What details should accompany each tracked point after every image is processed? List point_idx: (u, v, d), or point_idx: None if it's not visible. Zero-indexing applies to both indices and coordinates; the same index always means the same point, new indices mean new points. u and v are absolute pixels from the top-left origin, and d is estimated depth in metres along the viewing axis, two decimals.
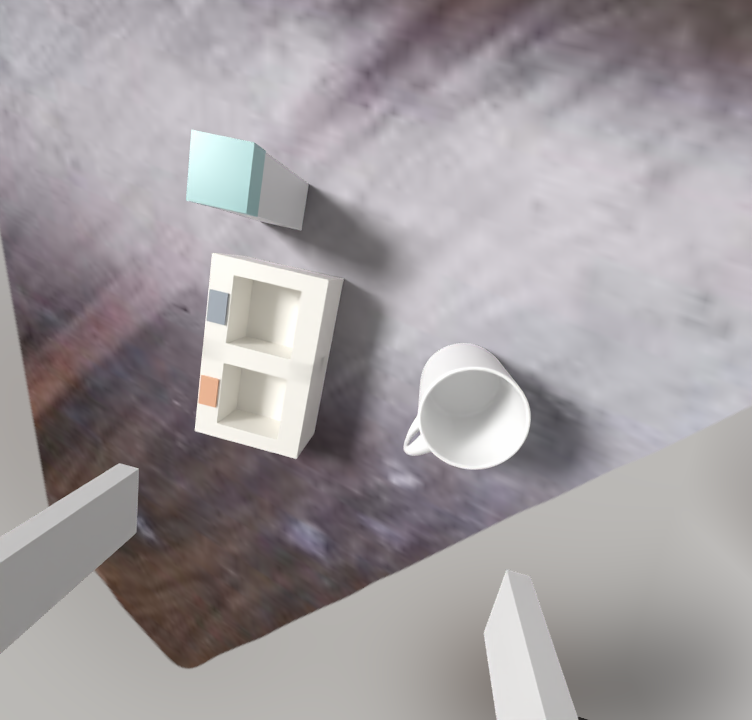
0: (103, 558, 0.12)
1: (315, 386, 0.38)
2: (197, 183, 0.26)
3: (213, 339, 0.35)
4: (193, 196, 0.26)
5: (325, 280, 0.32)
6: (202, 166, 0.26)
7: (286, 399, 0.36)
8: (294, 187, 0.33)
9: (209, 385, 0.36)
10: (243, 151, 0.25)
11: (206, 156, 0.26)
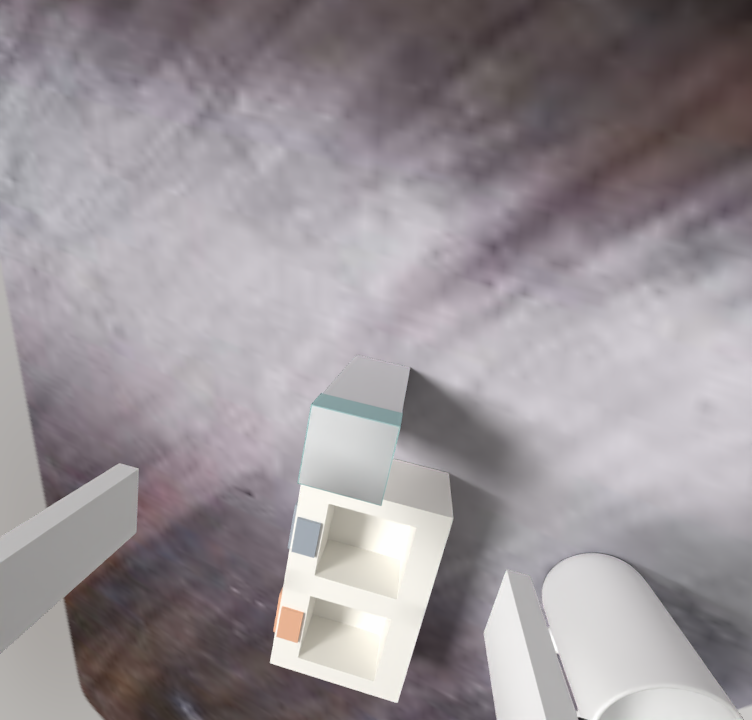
0: (103, 558, 0.12)
1: None
2: (315, 466, 0.19)
3: (298, 570, 0.28)
4: (308, 480, 0.19)
5: (449, 518, 0.26)
6: (323, 447, 0.19)
7: (388, 640, 0.29)
8: None
9: (291, 619, 0.29)
10: (383, 435, 0.18)
11: (330, 436, 0.19)
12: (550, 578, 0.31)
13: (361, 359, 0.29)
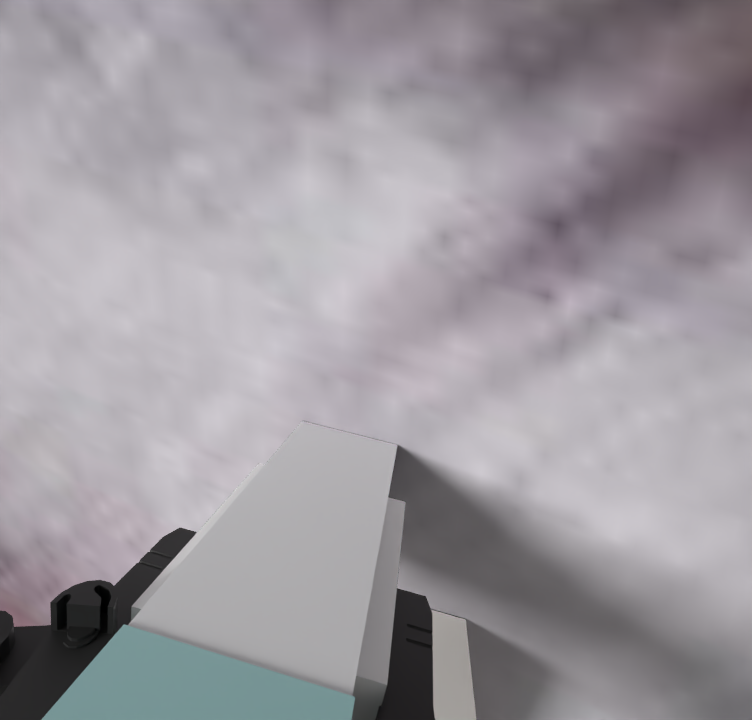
0: None
1: None
2: None
3: None
4: None
5: None
6: None
7: None
8: None
9: None
10: None
11: None
12: None
13: (307, 433, 0.16)
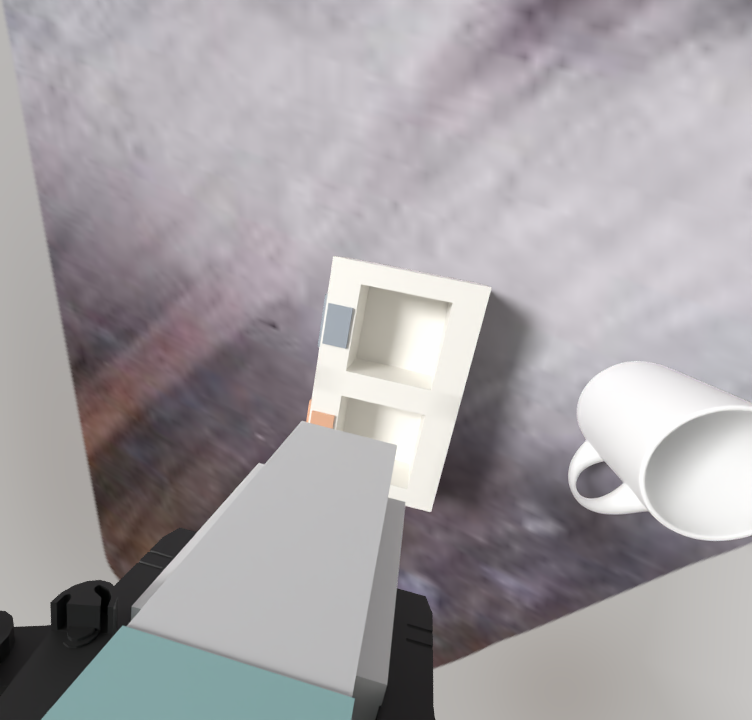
0: None
1: None
2: None
3: (329, 367, 0.28)
4: None
5: (487, 288, 0.25)
6: None
7: (422, 440, 0.28)
8: None
9: (322, 423, 0.29)
10: None
11: None
12: (586, 389, 0.30)
13: (307, 433, 0.16)
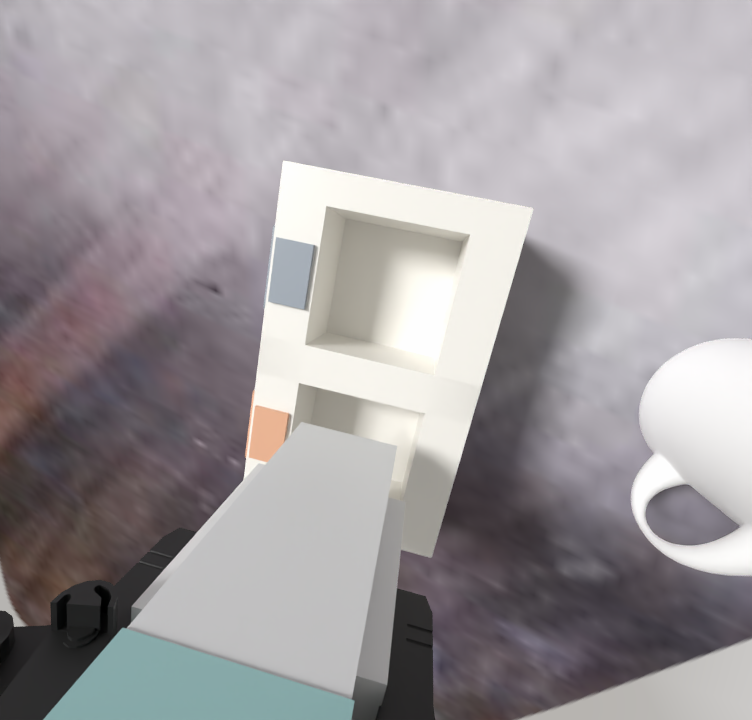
0: None
1: None
2: None
3: (280, 339, 0.18)
4: None
5: (526, 209, 0.15)
6: None
7: (420, 451, 0.19)
8: None
9: (270, 425, 0.19)
10: None
11: None
12: (657, 379, 0.21)
13: (307, 434, 0.16)
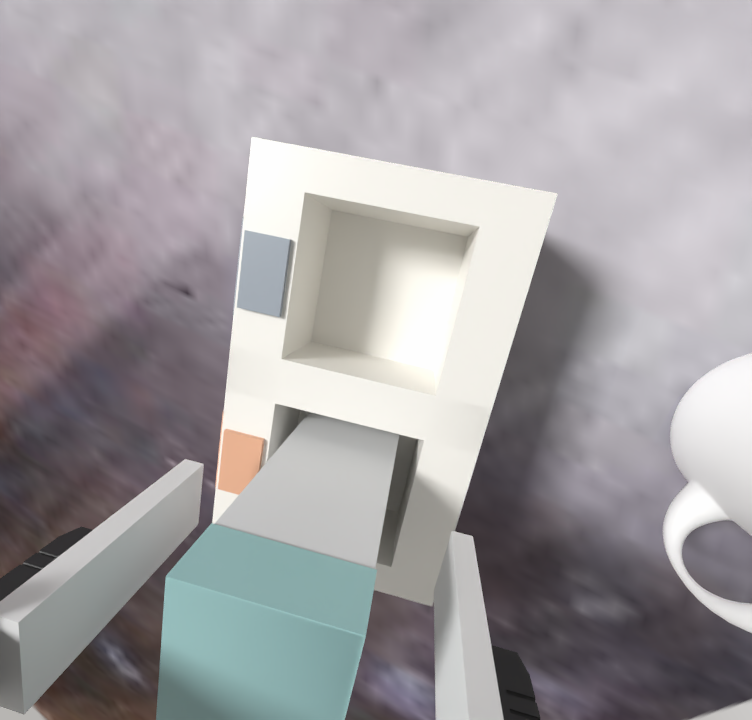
0: (173, 547, 0.13)
1: None
2: (187, 693, 0.09)
3: (252, 351, 0.15)
4: (176, 716, 0.09)
5: (548, 195, 0.13)
6: (201, 661, 0.09)
7: (418, 484, 0.16)
8: None
9: (242, 452, 0.16)
10: (328, 650, 0.08)
11: (212, 642, 0.08)
12: (693, 396, 0.18)
13: None
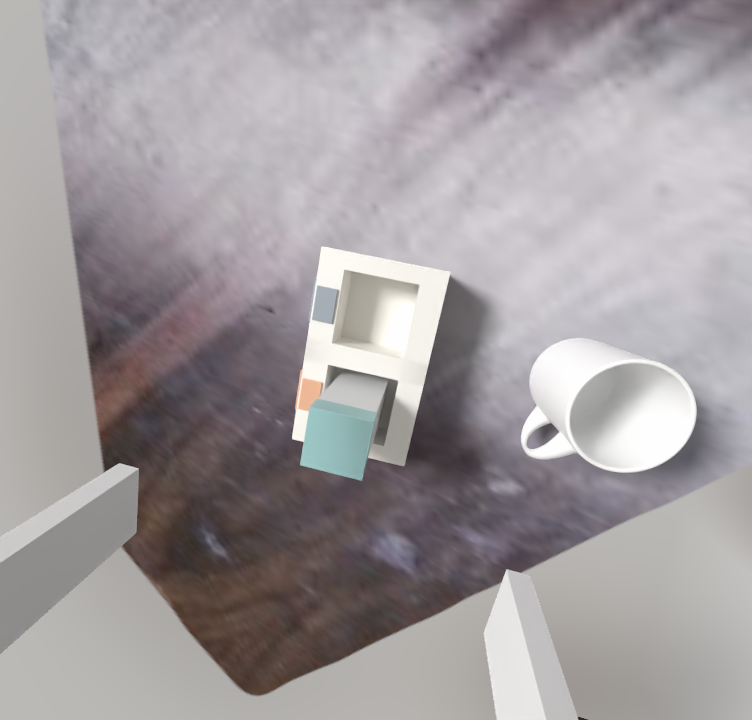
0: (103, 558, 0.12)
1: None
2: (312, 451, 0.26)
3: (318, 340, 0.33)
4: (307, 462, 0.27)
5: (446, 272, 0.30)
6: (318, 437, 0.26)
7: (396, 402, 0.33)
8: (383, 398, 0.34)
9: (311, 389, 0.34)
10: (362, 428, 0.25)
11: (323, 429, 0.26)
12: (536, 362, 0.36)
13: (349, 371, 0.36)
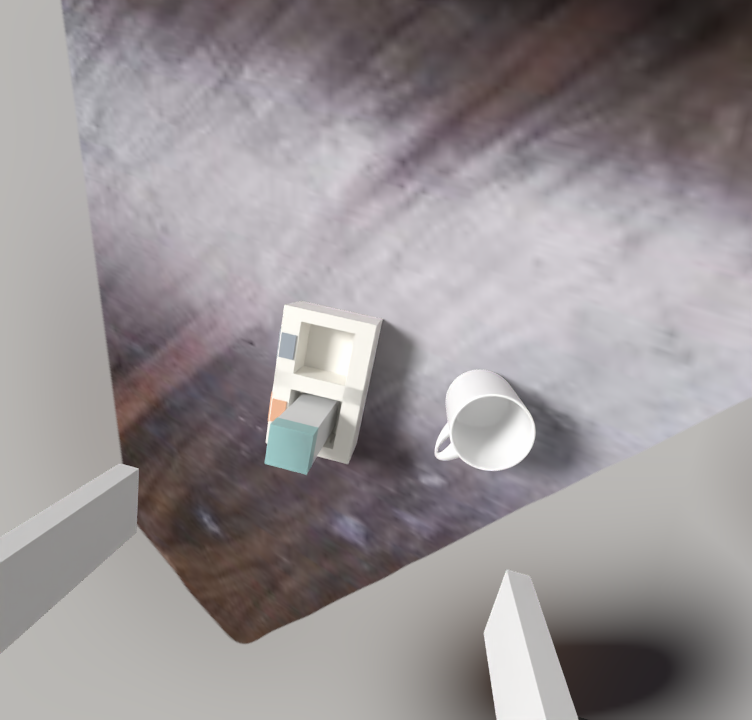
0: (103, 558, 0.12)
1: (362, 405, 0.47)
2: (273, 454, 0.38)
3: (283, 371, 0.45)
4: (269, 461, 0.39)
5: (374, 325, 0.42)
6: (276, 445, 0.38)
7: (341, 417, 0.45)
8: (331, 414, 0.45)
9: (279, 406, 0.46)
10: (305, 439, 0.37)
11: (279, 439, 0.38)
12: (449, 387, 0.47)
13: None
